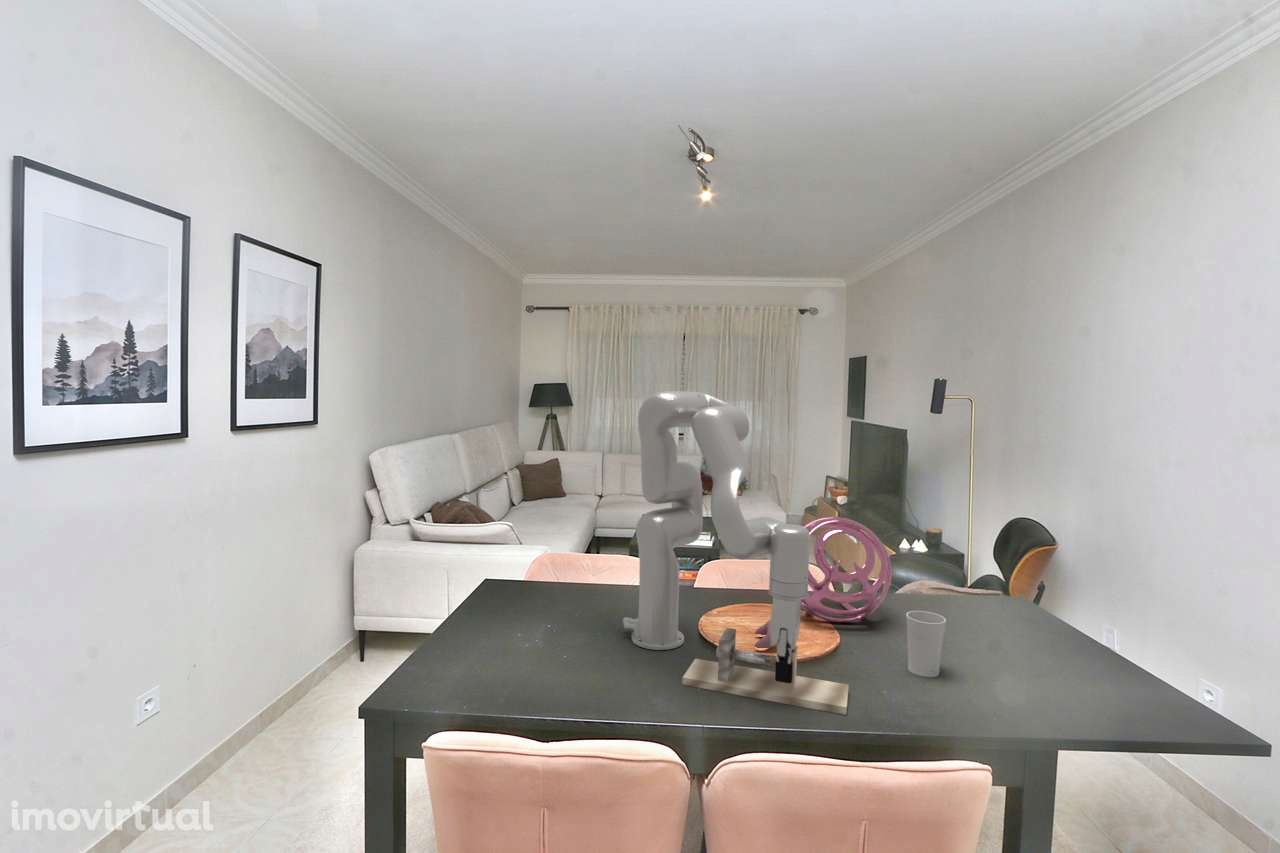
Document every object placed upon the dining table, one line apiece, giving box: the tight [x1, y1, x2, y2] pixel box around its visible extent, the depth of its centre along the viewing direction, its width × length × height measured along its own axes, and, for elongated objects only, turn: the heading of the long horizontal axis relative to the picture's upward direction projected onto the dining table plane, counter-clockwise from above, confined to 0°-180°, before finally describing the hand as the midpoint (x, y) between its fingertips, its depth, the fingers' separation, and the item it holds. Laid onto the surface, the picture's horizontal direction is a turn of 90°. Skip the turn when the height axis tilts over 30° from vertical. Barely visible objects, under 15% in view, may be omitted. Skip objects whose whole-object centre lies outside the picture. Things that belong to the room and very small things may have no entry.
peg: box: [715, 644, 798, 683], centre depth 131 cm, size 16×4×6 cm, turn 70°
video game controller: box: [754, 619, 772, 649], centre depth 153 cm, size 10×5×7 cm, turn 169°
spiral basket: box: [801, 516, 893, 624], centre depth 174 cm, size 28×28×27 cm
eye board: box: [681, 627, 850, 716], centre depth 130 cm, size 32×10×10 cm, turn 70°
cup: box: [905, 610, 947, 678], centre depth 140 cm, size 8×8×12 cm
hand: (785, 675), depth 129 cm, fingers closed on peg, 4 cm apart
